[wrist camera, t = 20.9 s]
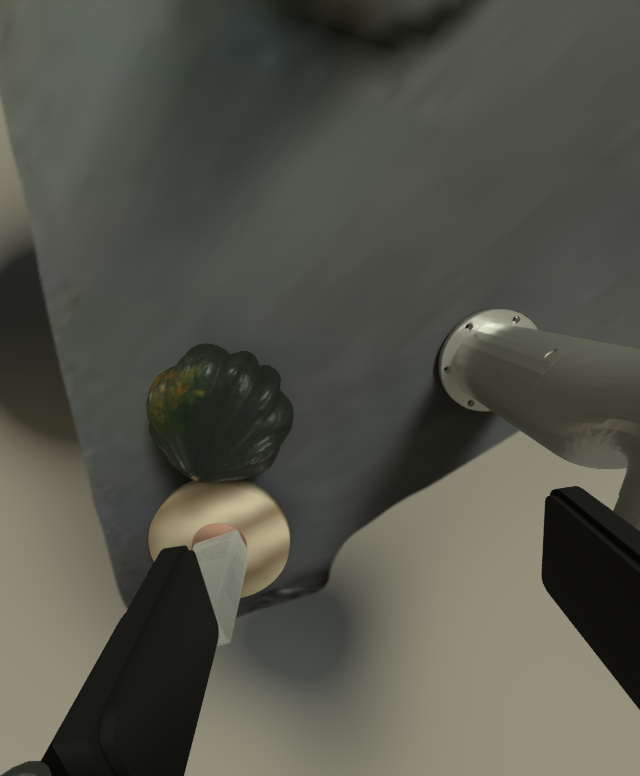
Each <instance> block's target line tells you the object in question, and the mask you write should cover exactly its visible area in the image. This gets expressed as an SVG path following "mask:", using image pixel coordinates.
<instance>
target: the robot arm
mask: <svg viewBox="0 0 640 776" xmlns="http://www.w3.org/2000/svg"><path fill="white" fill-rule="evenodd" d="M513 318H514V319H513ZM512 320H513V321H512ZM466 325H468V327H467V328H466ZM445 367H447V368H446V370H444V368H445ZM438 372H439V377H440V381H441V383H442V386H443V388H444V390H445V391H446V392H447V394H448V395H449V396H450V397H451V398H452V399H453V400H454V401H455V402H457V403H458V404H460V405H461V406H463V407H465V408H467V409H470V410H475V411H487V412H488V411H492V412H494V413H495V414H497V415H498V416H500V417H501V418H503V419H504V420H506V421H507V422H509V423H510V424H511V425H513V426H514V427H516V428H517V429H519V430H520V431H522V432H523V433H525V434H526V435H528V436H529V437H531V438H532V439H534V440H535V441H536V442H538V443H539V444H541V445H542V446H544V447H545V448H547V449H548V450H550V451H551V452H553V453H554V454H556V455H558V456H559V457H561V458H563V459H564V460H567V461H569V462H571V463H574V464H577V465H580V466H584V467H589V468H596V469H622V468H627V471H626V475H625V478H624V481H623V484H622V486H621V489H620V492H619V498H618V500H617V503H616V505H615V508H614V510H613V511H612V510H610V509H609V508H608V507H607V506H605V505H604V504H602V503H601V502H600V501H598V500H597V499H596V498H594V497H593V496H591V495H590V494H589V493H588V492H586V491H585V490H584V489H582V488H580V487H577V486H573V487H566V488H560V489H554V490H552V491H551V493H550V496H548V497H547V498H546V501H545V517H544V537H543V557H542V581H543V584H544V586H545V588H546V590H547V592H548V593H549V594H550V595H551V597H552V598H553V600H554V601H555V602H556V603H557V605H558V606H559V607H560V609H561V610H562V611H563V612H564V614H565V615H566V616H567V617H568V619H569V620H570V621H571V623H572V624H573V625H574V626H575V628H576V629H577V630H578V632H580V634H581V635H582V637H583V638H584V639H585V641H586V642H587V643H588V644H589V645H590V647H591V648H592V649H593V651H594V652H595V653H596V655H597V656H598V657H599V658H600V660H601V661H602V662H603V663H604V665H605V666H606V667H607V669H608V670H609V671H610V672H611V674H612V675H613V676H614V678H615V679H616V680H617V681H618V683H619V684H620V685H621V686H622V688H623V689H624V690H625V692H626V693H627V694H628V695H629V697H630V698H631V699H632V701H633V702H634V703H635V704H636V706H637V707H638V708H639V709H640V349H636V348H630V347H625V346H620V345H615V344H608V343H602V342H597V341H592V340H586V339H581V338H576V337H571V336H566V335H561V334H556V333H550V332H545V331H540V330H538V329H537V327H536V326H535V325H534V324H533V323H532V321H531V320H530V319H528V318H527V317H525V316H524V315H522V314H520V313H517V312H514V311H511V310H505V309H490V310H484V311H481V312H478V313H475V314H473V315H471V316H469V317H468V318H466V319H464V320H463V321H462V322H461V323H459V324H458V325H457V326H456V327H455V328H454V329H453V330H452V332H451V333H450V334H449V335H448V337H447V339H446V340H445V342H444V344H443V347H442V349H441V352H440V356H439V362H438ZM468 401H469V402H468ZM218 637H219V626H218V622H217V619H216V616H215V613H214V610H213V607H212V603H211V600H210V597H209V594H208V591H207V588H206V585H205V582H204V578H203V575H202V572H201V569H200V566H199V563H198V560H197V557H196V554H195V552H194V551H193V550H189V549H188V547H187V546H185V545H183V546H176V547H170V548H164V549H162V550H161V551H160V553H159V554H158V556H157V558H156V560H155V561H154V563H153V565H152V567H151V569H150V570H149V572H148V574H147V576H146V578H145V579H144V581H143V583H142V585H141V587H140V588H139V590H138V592H137V594H136V596H135V597H134V599H133V601H132V603H131V605H130V606H129V608H128V610H127V612H126V613H125V614H124V615H123V617H122V618H121V620H120V621H119V623H118V625H117V626H116V628H115V630H114V632H113V634H112V635H111V637H110V639H109V641H108V643H107V644H106V646H105V648H104V650H103V651H102V653H101V655H100V657H99V659H98V660H97V662H96V664H95V666H94V667H93V669H92V671H91V673H90V674H89V676H88V678H87V680H86V682H85V683H84V685H83V687H82V689H81V690H80V692H79V694H78V696H77V698H76V699H75V701H74V703H73V705H72V706H71V708H70V710H69V712H68V714H67V715H66V717H65V719H64V721H63V723H62V724H61V726H60V728H59V730H58V731H57V733H56V735H55V737H54V739H53V740H52V742H51V744H50V746H49V747H48V749H47V751H46V753H45V755H44V756H43V758H42V760H41V761H28V762H25V763H23V764H20V765H18V766H15V767H13V768H11V769H10V770H8V771H7V772H5V773H4V774H2V775H1V776H184V773H185V769H186V765H187V761H188V757H189V753H190V749H191V745H192V742H193V738H194V734H195V729H196V726H197V722H198V718H199V714H200V710H201V706H202V702H203V698H204V694H205V690H206V686H207V682H208V678H209V674H210V670H211V666H212V662H213V659H214V654H215V651H216V647H217V643H218Z"/></svg>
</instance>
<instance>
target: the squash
mask: <svg viewBox="0 0 640 776" xmlns="http://www.w3.org/2000/svg"><path fill="white" fill-rule="evenodd" d="M280 381H281V379H280V375H279V373H278V372H277V371H276V370H275V369H274V368H272V367H271V366H269V365H263V366H259V364H258V361H257V359H256V357H255V356H254V355H253V354H252V353H250V352H248V351H240V352H238V353H234V354H229V353H228V352H227V351H226V350H225V349H223V348H221V347H219V346H217V345H214V344H200V345H196V346H195V347H193V348H191V349H190V350H189V351H188V352H187V353H186V355H185V356H184V357H183V358H181V360H180V361H179V362H178V363H177V365H176V366H174V367H171V368H169V369H167V370H166V371H164V372H163V373H161V374H160V375H159V376H158V377H157V378H156V379H155V380H154V382H153V383H152V386H151V388H150V391H149V394H148V398H147V402H146V411H147V415H148V419H149V422H150V424H149V430H150V434H151V436H152V438H153V441H154V443H155V444H156V445H157V446H158V447H159V448H160V449H161V450H162V452H163V453H164V454H165V455H166V457H167V459H168V461H169V462H170V463H171V465H173V466H174V467H175V468H176V469H177V470H178V471H179V472H180V473H182V474H184V475H185V476H187V477H188V478H189V479H191V480H193V481H195V482H200V483H222V482H233V481H237V480H242V479H247V478H251V477H254V476H256V475H258V474H260V473H262V472H264V471H265V470H267V469H268V468H269V467H270V466H271V465H272V464H273V462H274V460H275V458H276V457H277V455H278V452H279V449H280V446H281V444H282V443H283V441H284V440H285V438H286V437H287V435H288V434H289V432H290V430H291V427H292V423H293V416H294V415H293V407H292V404H291V402H290V400H289V399H288V398H287V397H286V396H285V395H284V394H283V393H282V392H281V391H280Z"/></svg>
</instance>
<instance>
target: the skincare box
mask: <svg viewBox="0 0 640 776" xmlns="http://www.w3.org/2000/svg"><path fill="white" fill-rule="evenodd" d="M192 550H193V551H194V552H195V554H196V557H197V560H198V563H199V566H200V569H201V572H202V575H203V578H204V582H205V585H206V588H207V591H208V594H209V597H210V600H211V603H212V607H213V610H214V613H215V616H216V619H217V622H218V626H219V637H218V643H217V647H218V646H221V645H224V644H228V643H230V642H231V638H232V634H233V629H234V624H235V620H236V615H237V610H238V605H239V601H240V596H241V591H242V586H243V582H244V577H245V572H246V568H247V563H248V558H249V552H248V550H247V548H246V546H245V544H244V542H243V540H242V538H241V536H240V534H239V532H238V530H234V531H231V532H228V533H225V534H222V535H219V536H216V537H213V538H210V539H207V540H204V541H201V542H198V543H195V544H194V547H193V549H192Z"/></svg>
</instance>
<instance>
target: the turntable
mask: <svg viewBox="0 0 640 776" xmlns="http://www.w3.org/2000/svg"><path fill="white" fill-rule="evenodd" d="M234 530H238V532H239V534H240V536H241V538H242V540H243V542H244V544H245V546H246V548H247V550H248V552H249V558H248V563H247V568H246V572H245V577H244V582H243V586H242V591H241V596H240V598H242V597H246V596H249V595H252V594H254V593H257V592H259V591H261V590H262V589H264V588H266V587H267V586H268V585H270V584H271V583H272V582H273V581H274V580H275V579H276V578H277V577H278V576H279V574H280V573H281V572H282V570H283V568H284V566H285V564H286V562H287V559H288V554H289V547H290V527H289V522H288V519H287V516H286V514H285V512H284V510H283V509H282V507H281V506H280V504H279V503H278V502H277V501H276V500H275V498H274V497H273V496H271V495H270V494H269V493H268V492H267V491H265V490H264V489H262V488H261V487H259V486H257V485H255V484H253V483H251V482H248V481H246V480H237V481H233V482H222V483H200V482H195V481H191V482H188V483H186V484H184V485H182V486H181V487H179V488H178V489H176V490H175V491H174V492H173V493H171V494H170V495H169V496H168V497H167V499H166V500H165V501H164V502H163V504H162V505H161V507H160V508H159V510H158V511H157V513H156V515H155V516H154V518H153V520H152V523H151V525H150V530H149V538H148V542H149V549H150V553H151V556H152V559H153V561H155V560H156V558H157V556H158V554H159V553H160V551H161V550H162V549H164V548H170V547H176V546H183V545H185V546H187V547H188V549H189V550H192V549H193V547H194V544H195V543H198V542H201V541H204V540H207V539H210V538H213V537H216V536H219V535H222V534H225V533H228V532H231V531H234Z"/></svg>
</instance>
